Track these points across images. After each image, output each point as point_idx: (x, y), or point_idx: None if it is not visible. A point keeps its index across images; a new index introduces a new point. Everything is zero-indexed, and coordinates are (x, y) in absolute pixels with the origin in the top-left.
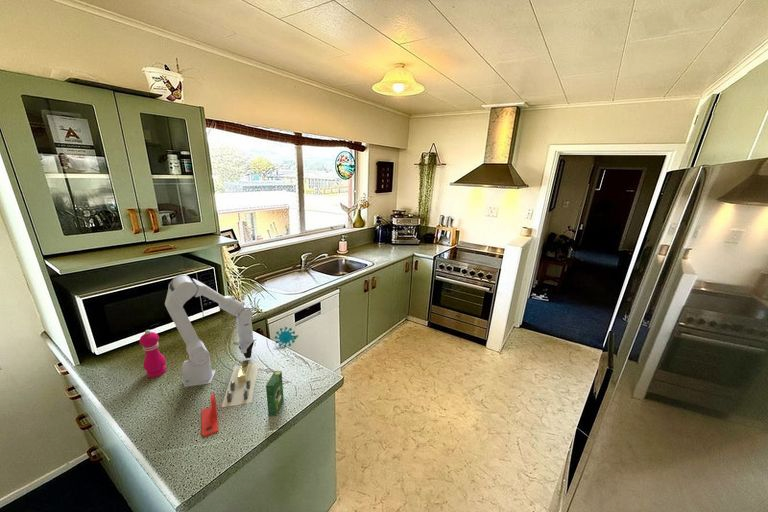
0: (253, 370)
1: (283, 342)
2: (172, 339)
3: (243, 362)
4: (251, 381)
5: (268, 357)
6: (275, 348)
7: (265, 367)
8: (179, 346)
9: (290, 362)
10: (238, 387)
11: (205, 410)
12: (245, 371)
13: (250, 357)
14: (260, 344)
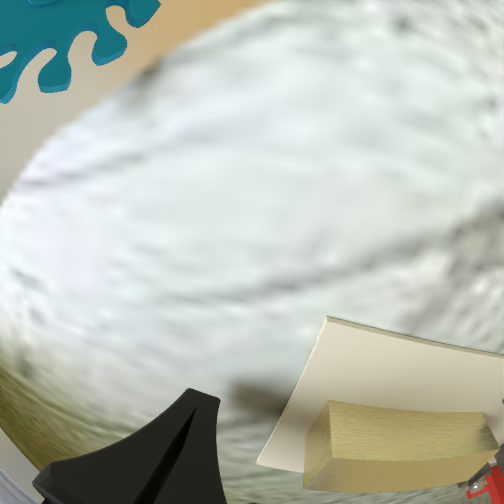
0: (410, 379)
1: (98, 9)
2: (39, 466)
3: (337, 485)
4: (499, 384)
5: (250, 198)
6: (114, 105)
7: (426, 268)
8: None
9: (443, 23)
10: None
11: (481, 491)
12: (466, 459)
13: (218, 401)
14: (30, 242)
